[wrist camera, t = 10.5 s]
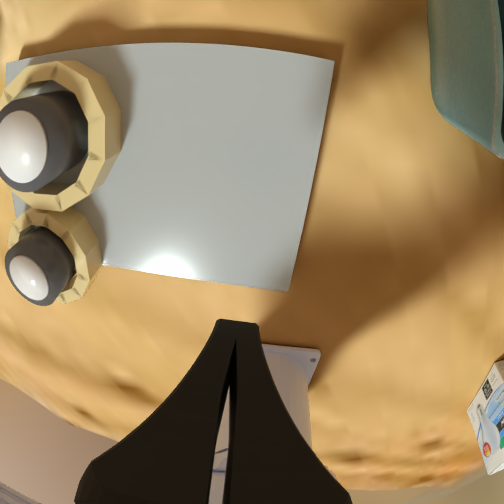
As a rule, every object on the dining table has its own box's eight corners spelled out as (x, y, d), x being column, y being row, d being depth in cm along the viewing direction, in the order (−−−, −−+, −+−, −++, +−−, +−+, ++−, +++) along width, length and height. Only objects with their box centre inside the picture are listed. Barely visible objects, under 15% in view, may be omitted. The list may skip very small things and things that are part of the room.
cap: (97, 166, 17) (63, 190, 13) (35, 173, 17) (-3, 197, 13) (89, 83, 14) (49, 89, 11) (25, 99, 14) (-17, 111, 11)
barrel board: (280, 308, 23) (282, 366, 18) (37, 268, 22) (2, 308, 18) (330, 62, 15) (356, 55, 10) (17, 62, 14) (-39, 70, 9)
